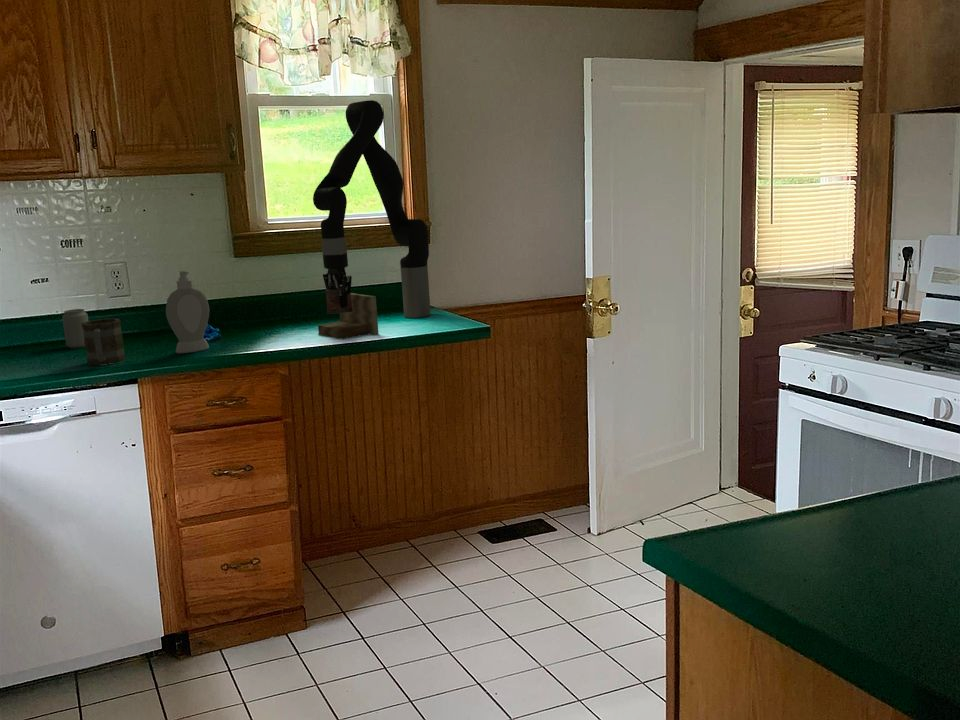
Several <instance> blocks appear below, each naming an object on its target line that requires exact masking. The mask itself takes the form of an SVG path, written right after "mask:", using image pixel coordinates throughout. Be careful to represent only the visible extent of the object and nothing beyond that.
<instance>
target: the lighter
mask: <svg viewBox="0 0 960 720" xmlns="http://www.w3.org/2000/svg"><path fill="white" fill-rule="evenodd" d="M328 286H329V289H326V288H325V290H324V292H325V298H326V308H327V310H326V313H327V314H328V315H332V314H333V315H335V314H340V313H346V312H352V311H353V308H352V301H351V293H352V292H351V293H350V294H348V295H347V307H345V308H341V307H340V299H339V296H340V295H339V292H338V289H336V285H335V282H331V283H328ZM332 286H333V289H332ZM347 289H348V287H347ZM341 290H342V288H341Z"/></svg>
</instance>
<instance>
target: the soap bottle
mask: <svg viewBox="0 0 960 720" xmlns="http://www.w3.org/2000/svg"><path fill="white" fill-rule="evenodd" d="M178 272H179V277H178V280H176V289H175V290H174V291H172V292H170V294H169V296H168V297H167V299H166V304H165V305H166V306H165V317H166V320H167V322H168V325H170V328H171V330H172V331H173V333H174V334H175V336H176V338H177V340H178V342H177V344H176V347H175V353H176V354H187V353H190V354H191V353H196V352H202V351H206V350H208V349H210V346H209V343H208V342H207V340H206V339H205V338H204V336H205V333H206V331H207V326H208V322H209V317H210V305H209V301H208V299H207V297H206V295H205V293H204V292H202V290H201V289H199V288H195V287H193V280H192V279H190V276H188V275H189V271H188V270H187V269H184V270H179V271H178Z"/></svg>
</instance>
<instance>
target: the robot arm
mask: <svg viewBox="0 0 960 720" xmlns="http://www.w3.org/2000/svg"><path fill="white" fill-rule="evenodd" d="M384 118H385V113H384V109H383V106H382V104H381V103H380V102H379V101H377V100H373V99H372V100H371V99H370V100H362V101H361V100H360V101H354V102H352V103H349V104H348V105H347V107H346V109H345V119H346V120H345V121H346V123H347V126H348V128H349V130H350V132H351V134H352V136H351V138H350V139H349V140H348V141H347V142H346V143H345V144H344V145H343V147H342V148H341V149H340V150H339V151H338V152H337V153H336V155H335V157H334V159H333V162H332V164H331V166H330V167H329V170H328V173H327V174H326V175H325V176H324V177H323V178H322V180H321V181H320V182H319V184H318V185H317V186H316V188H315V190H314V192H313V196H312V202H313V206H314V207H315V208H316V209H317V210H318V211H325V212H326V211H328V216H327V218H324V219H323V220H321V222H320V232H321V233H320V234H321V250H322V260H323V261H322V262H323V268H324V269H327V272H326V273H323V274H322V277H323V281H324V286H325V290H326V289H329V286H328V283H331V282H335V285H336V289H338V292H339V295H340V296H339V299H340V307H341V308H345V307H347V295H348V294H350V293H352V291H351V290H352V279H353V278H352V277H353V276H352V275H347V272H346V268H347V267H348V266H349V259H348V249H347V241H346V237H345V236H346V235H345V225H344V223H345V218H346V217H345V216H346V211H347V203H348V201H347V199H348V198H347V195H346V193H345V191H344V190H343V189H342V188H344V187H347V186H348V185H349V183H350V181H351V180H352V177H353V176H354V173H355V170H356V168H357V165H358V163H359V161H360V160H361V158H362V156H363V159H364V161H365V163H366V165H367V167H368V170H369V172H370V175H371V178H372V181H373V182H374V186H375V187H376V190H377V192H378V194H379V197H380V199H381V202H382V205H383V208H384V210H385V212H386V213H385V214H386V216H387V221H388V223H389V227H390V231H391V233H392V235H393V236H392V237H393V239H394V240H395V242H396V244H398V245H399V246H401V247H408V251H407V252H408V253H407V254H406V255H405V256H403V257H401V259H400V261H399V265H400V275H401V276H400V278H401V279H400V280H401V290H402V291H401V292H402V303H403V317H404V318H409V319H412V318H413V319H414V318H425V317H429V316H431V300H430V297H431V296H430V283H429V281H430V280H429V270H428V260H429V256H430V246H429V244H430V243H429V241H430V240H429V239H430V237H429V235H430V234H429V229H428V226H427V223H426V222H425V221H424V220H422V219H419V218H418V219H416V218H408V216H407V215H406V212H405V209H404V206H403V193H404V178H403V176H402V173H401V171H400V168H399V165H398V164H397V161H396V160H395V159H394V158H393V156H392V155H391V154H390V153H389V152H388V151H386V149H385V148H384V147H383V146H382V145H381V144H380V143H379V142H378V140H377V139H376V137H375V136H376V134H377V132H378V131H379V130H380V128H381V127H382V124H383V122H384ZM347 287H348V289H347ZM341 288H342V290H341ZM332 289H333V286H332Z"/></svg>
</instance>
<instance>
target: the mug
mask: <svg viewBox="0 0 960 720" xmlns="http://www.w3.org/2000/svg"><path fill="white" fill-rule="evenodd" d="M81 324H82V328H83V332H84V344H85V347H84V348H85V352H86V361H87V363H88V364H90V365H101V364H102V365H103V364H109V363H116V362H120V361H123V360H125V359H126V360H127V357H126V353H125V345H124V336H123V332H122V320H121V319H120V318H99V319H92V320H88V321H87V322H84V323H81ZM123 362H124V361H123ZM87 363H86V364H87ZM88 364H87V365H88ZM90 365H89V366H90Z"/></svg>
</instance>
